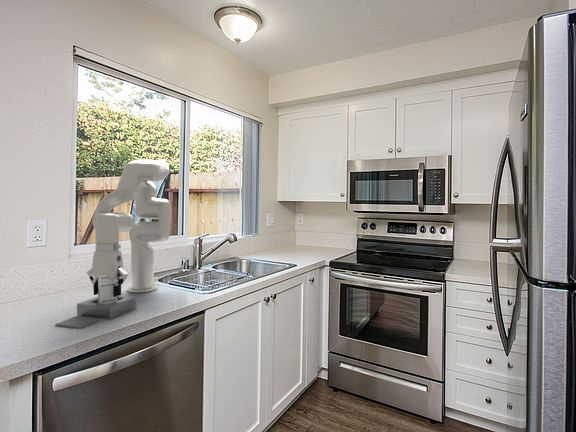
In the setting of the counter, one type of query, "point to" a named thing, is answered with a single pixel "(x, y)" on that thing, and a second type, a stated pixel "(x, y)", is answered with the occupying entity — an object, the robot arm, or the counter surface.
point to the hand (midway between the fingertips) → (107, 294)
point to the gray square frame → (106, 308)
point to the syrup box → (105, 290)
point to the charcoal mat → (77, 322)
